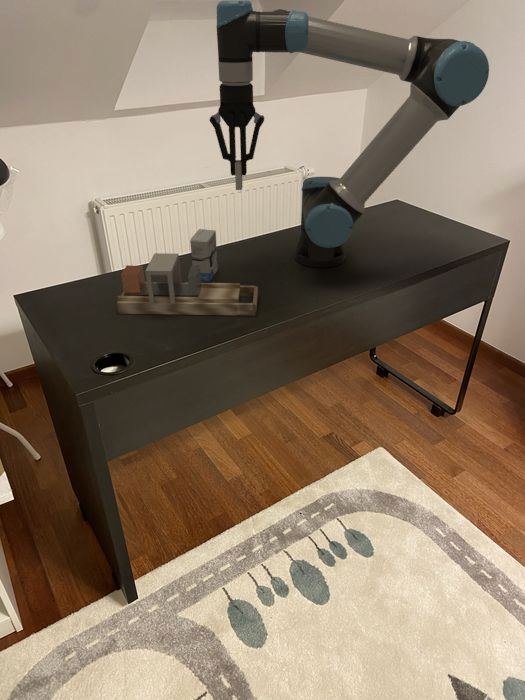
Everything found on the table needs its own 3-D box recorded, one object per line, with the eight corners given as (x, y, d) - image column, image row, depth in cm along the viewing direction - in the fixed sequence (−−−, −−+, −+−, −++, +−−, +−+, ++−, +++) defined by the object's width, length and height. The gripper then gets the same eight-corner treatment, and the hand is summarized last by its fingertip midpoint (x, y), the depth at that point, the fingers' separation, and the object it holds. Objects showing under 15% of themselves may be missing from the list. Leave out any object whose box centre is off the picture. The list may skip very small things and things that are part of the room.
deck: (257, 296, 135) (257, 282, 133) (256, 315, 127) (255, 301, 124) (129, 294, 136) (126, 280, 134) (118, 313, 128) (116, 298, 126)
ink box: (210, 282, 142) (207, 241, 135) (192, 281, 142) (189, 240, 136) (218, 269, 148) (216, 229, 142) (202, 268, 149) (199, 228, 143)
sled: (201, 287, 132) (199, 265, 129) (197, 298, 127) (196, 276, 124) (130, 286, 133) (127, 264, 129) (124, 297, 128) (120, 275, 124)
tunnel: (181, 284, 134) (178, 253, 129) (174, 303, 126) (171, 271, 121) (158, 284, 134) (154, 253, 129) (149, 303, 126) (145, 270, 121)
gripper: (265, 80, 120) (265, 184, 133) (209, 80, 121) (214, 183, 134) (264, 85, 114) (264, 193, 127) (205, 85, 115) (211, 192, 128)
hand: (239, 188), depth 131 cm, fingers closed
